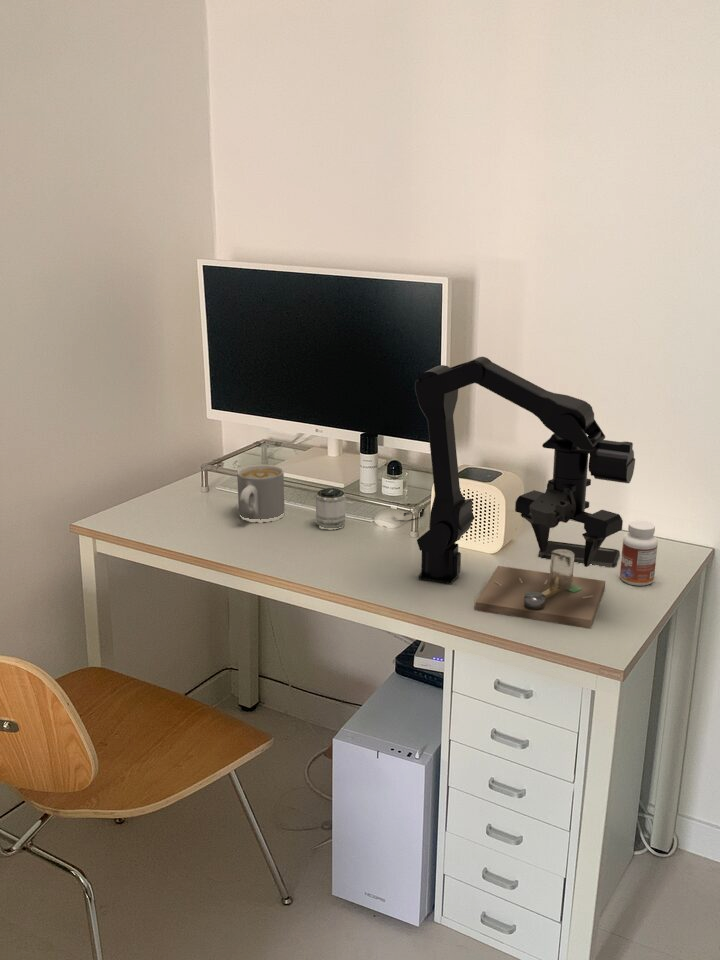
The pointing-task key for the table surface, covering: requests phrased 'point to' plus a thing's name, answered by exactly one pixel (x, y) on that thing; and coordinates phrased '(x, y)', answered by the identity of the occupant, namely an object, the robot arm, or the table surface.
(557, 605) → the wooden serving board
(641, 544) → the pill bottle
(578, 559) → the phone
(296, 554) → the table surface
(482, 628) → the table surface
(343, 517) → the glass jar
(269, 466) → the coffee mug
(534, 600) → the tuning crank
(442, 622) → the table surface
